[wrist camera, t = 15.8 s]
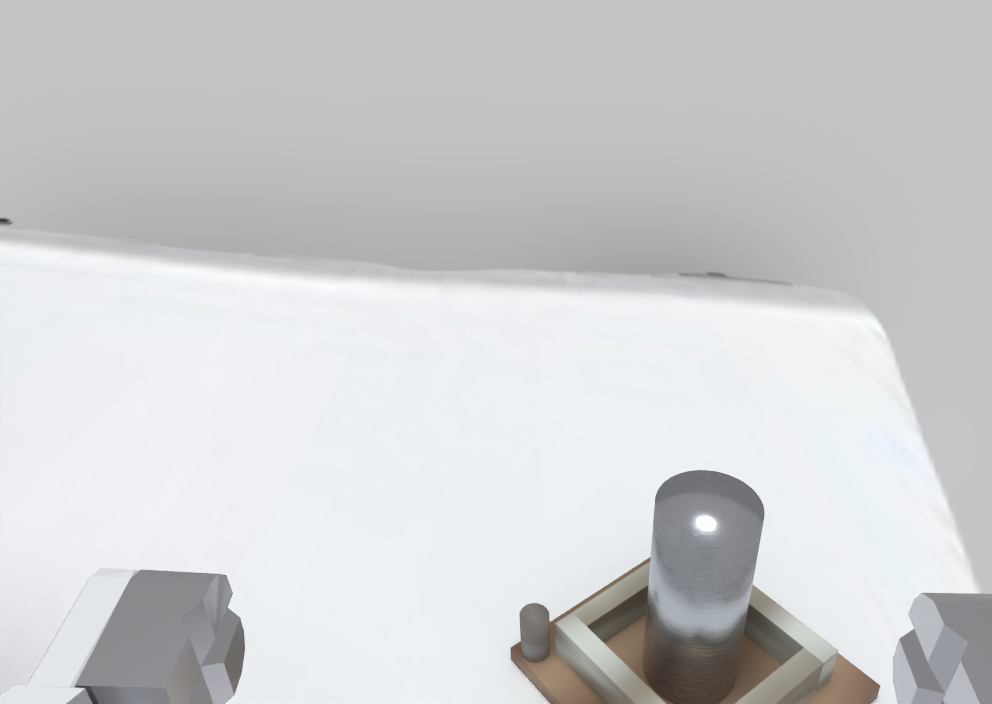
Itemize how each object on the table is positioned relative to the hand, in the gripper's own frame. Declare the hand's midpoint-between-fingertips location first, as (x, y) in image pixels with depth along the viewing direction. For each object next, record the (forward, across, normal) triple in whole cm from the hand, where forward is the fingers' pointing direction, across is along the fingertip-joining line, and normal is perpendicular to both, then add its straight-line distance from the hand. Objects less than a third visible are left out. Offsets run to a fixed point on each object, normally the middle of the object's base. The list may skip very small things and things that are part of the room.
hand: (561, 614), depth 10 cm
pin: (+23, -8, +33) cm, 41 cm away
